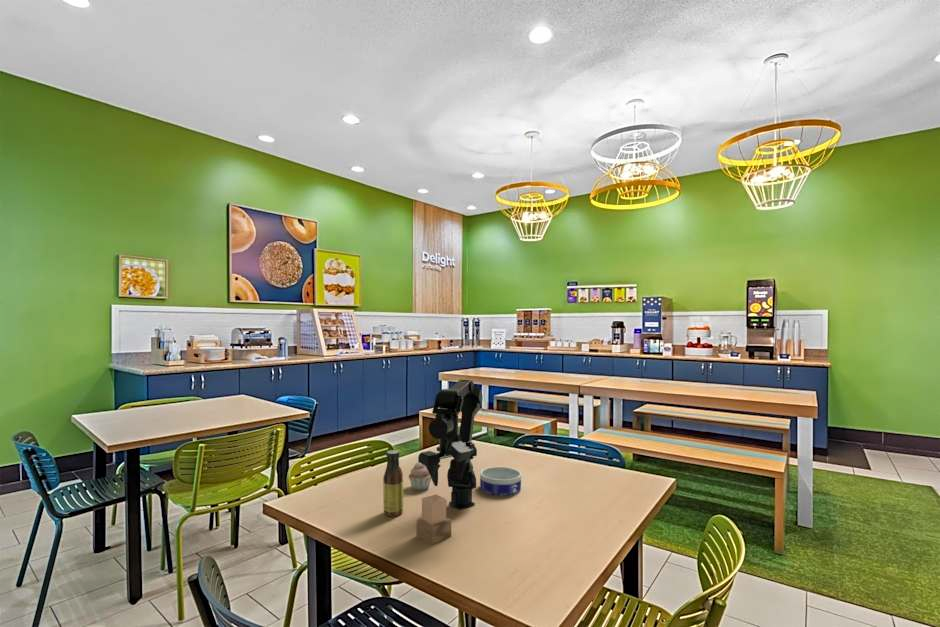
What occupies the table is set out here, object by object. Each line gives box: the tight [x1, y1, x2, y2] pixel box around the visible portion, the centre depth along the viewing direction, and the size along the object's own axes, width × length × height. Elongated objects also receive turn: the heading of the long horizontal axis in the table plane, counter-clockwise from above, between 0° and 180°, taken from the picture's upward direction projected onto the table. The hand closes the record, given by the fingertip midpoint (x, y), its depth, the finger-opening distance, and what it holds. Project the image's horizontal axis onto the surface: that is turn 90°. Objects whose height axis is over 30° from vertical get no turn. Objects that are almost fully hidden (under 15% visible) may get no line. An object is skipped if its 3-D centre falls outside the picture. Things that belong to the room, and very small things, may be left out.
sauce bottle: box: [382, 449, 404, 517], centre depth 148 cm, size 7×6×20 cm
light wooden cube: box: [421, 494, 447, 525], centre depth 132 cm, size 5×5×6 cm
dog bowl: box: [479, 466, 522, 497], centre depth 171 cm, size 15×15×6 cm
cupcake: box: [407, 461, 432, 491], centre depth 171 cm, size 9×9×10 cm
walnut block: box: [416, 516, 452, 545], centre depth 132 cm, size 7×7×5 cm
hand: (448, 482), depth 140 cm, fingers open, 9 cm apart
